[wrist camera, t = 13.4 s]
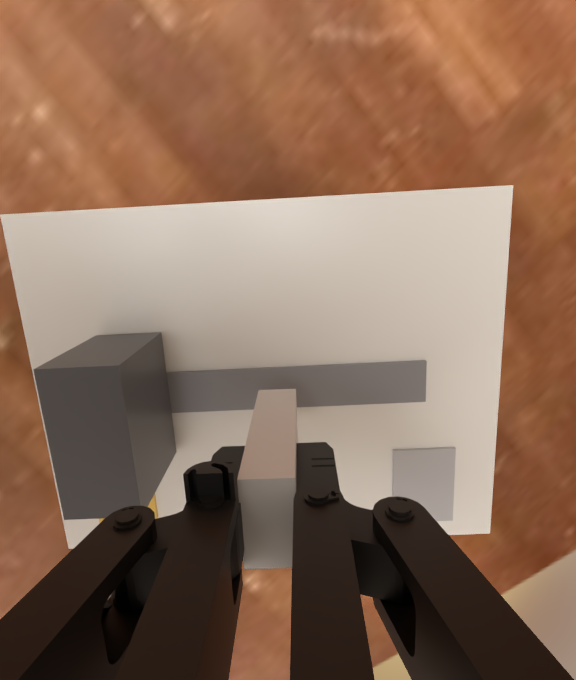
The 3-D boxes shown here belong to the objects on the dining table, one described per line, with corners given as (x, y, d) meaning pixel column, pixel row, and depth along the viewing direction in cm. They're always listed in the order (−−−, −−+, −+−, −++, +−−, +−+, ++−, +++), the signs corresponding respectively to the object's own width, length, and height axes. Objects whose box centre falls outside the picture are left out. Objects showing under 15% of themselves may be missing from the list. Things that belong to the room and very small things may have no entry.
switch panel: (68, 217, 25) (-3, 214, 19) (461, 195, 24) (515, 184, 18) (113, 484, 29) (66, 551, 23) (450, 471, 29) (491, 536, 23)
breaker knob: (96, 335, 20) (33, 369, 15) (161, 332, 20) (119, 365, 15) (115, 454, 22) (63, 520, 17) (176, 452, 22) (142, 516, 17)
